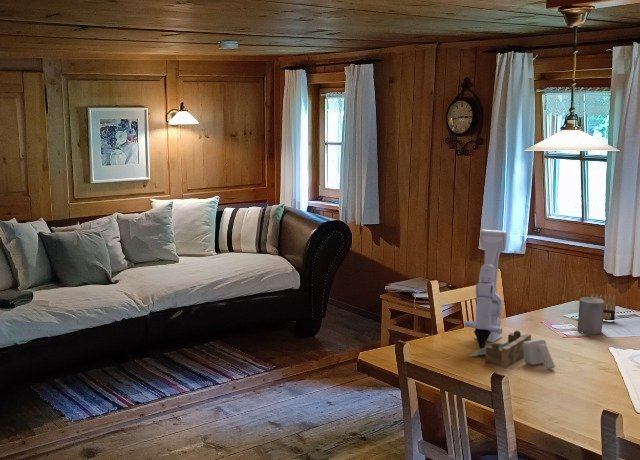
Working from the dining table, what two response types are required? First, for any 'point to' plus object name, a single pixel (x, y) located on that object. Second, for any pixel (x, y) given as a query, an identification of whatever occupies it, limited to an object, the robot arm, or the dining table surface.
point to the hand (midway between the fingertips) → (481, 348)
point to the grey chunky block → (537, 353)
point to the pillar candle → (590, 315)
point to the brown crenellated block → (507, 350)
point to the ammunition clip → (608, 307)
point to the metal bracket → (483, 350)
